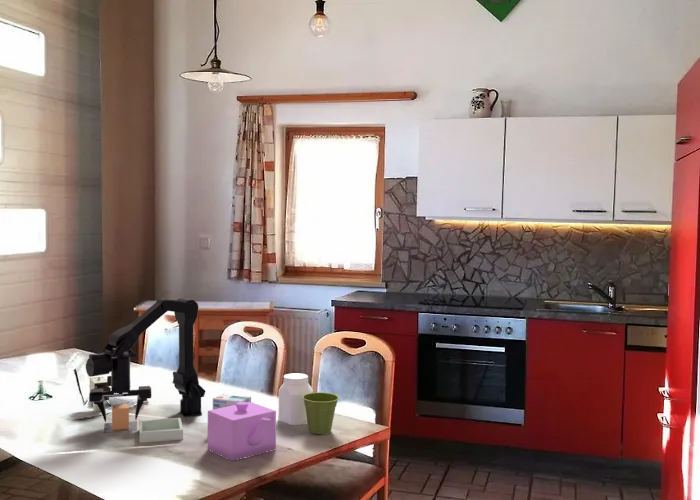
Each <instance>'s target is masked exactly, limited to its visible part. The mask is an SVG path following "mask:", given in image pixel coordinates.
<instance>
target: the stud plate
mask: <svg viewBox="0 0 700 500" xmlns="http://www.w3.org/2000/svg"><path fill="white" fill-rule="evenodd" d="M135 431H138V421H136V420H134V421H133V420H132V421H129V429H115V430H112V422H105V423H104V427H103V431H102V433H104V434H105V433H117V432H118V433H121V432H135Z"/></svg>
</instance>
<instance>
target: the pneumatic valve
mask: <svg viewBox="0 0 700 500" xmlns="http://www.w3.org/2000/svg"><path fill="white" fill-rule="evenodd" d="M88 386H89V391H90V390H91V389H101V388H103V391H111V386H107V378H105V377H104V376H95V377H89V385H88ZM109 400H110V397H104V402H105V401H109ZM92 403H93V412H95V413H96V412H101V411H100V409H99V407H98V405H97V404H94V402H92Z"/></svg>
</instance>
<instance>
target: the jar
mask: <svg viewBox="0 0 700 500" xmlns="http://www.w3.org/2000/svg"><path fill="white" fill-rule="evenodd" d="M308 393H314V390H313V387H312V386H311V385H310V383H309V376H308V375H307V374H305V373H297V372H296V373H293V372H292V373H287V374H286V373H285V374H284V375H283V383H282V385H281V386H280V388H279V389H278V393H277V394H278V415H277V416H278V417H277V420H278V421H279V422H283V423H285V424H288V425H289V426H302V425H301V424H303V425H307V424H306V423H307V416H306V408H305V405H304V399H302V396H303V395H305V394H308Z"/></svg>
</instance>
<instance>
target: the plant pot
mask: <svg viewBox="0 0 700 500" xmlns="http://www.w3.org/2000/svg"><path fill="white" fill-rule="evenodd" d="M302 399H304V405H305V408H306V416H307V424H306V425H307V431H308V433H311V434H312V433H313V435H316V434H318V435H321V434H323V435H327V433H328V434H329V432H330V433H331V431H332V427H333V423H334V416H335V413H336V412H335V410H336V407H337V404H338V401H339V400H340V396H339V395H337V394H334V393H331V392H321V391H320V392H318V391H317V392H313V393H308V394H305V395H303V396H302Z"/></svg>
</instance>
